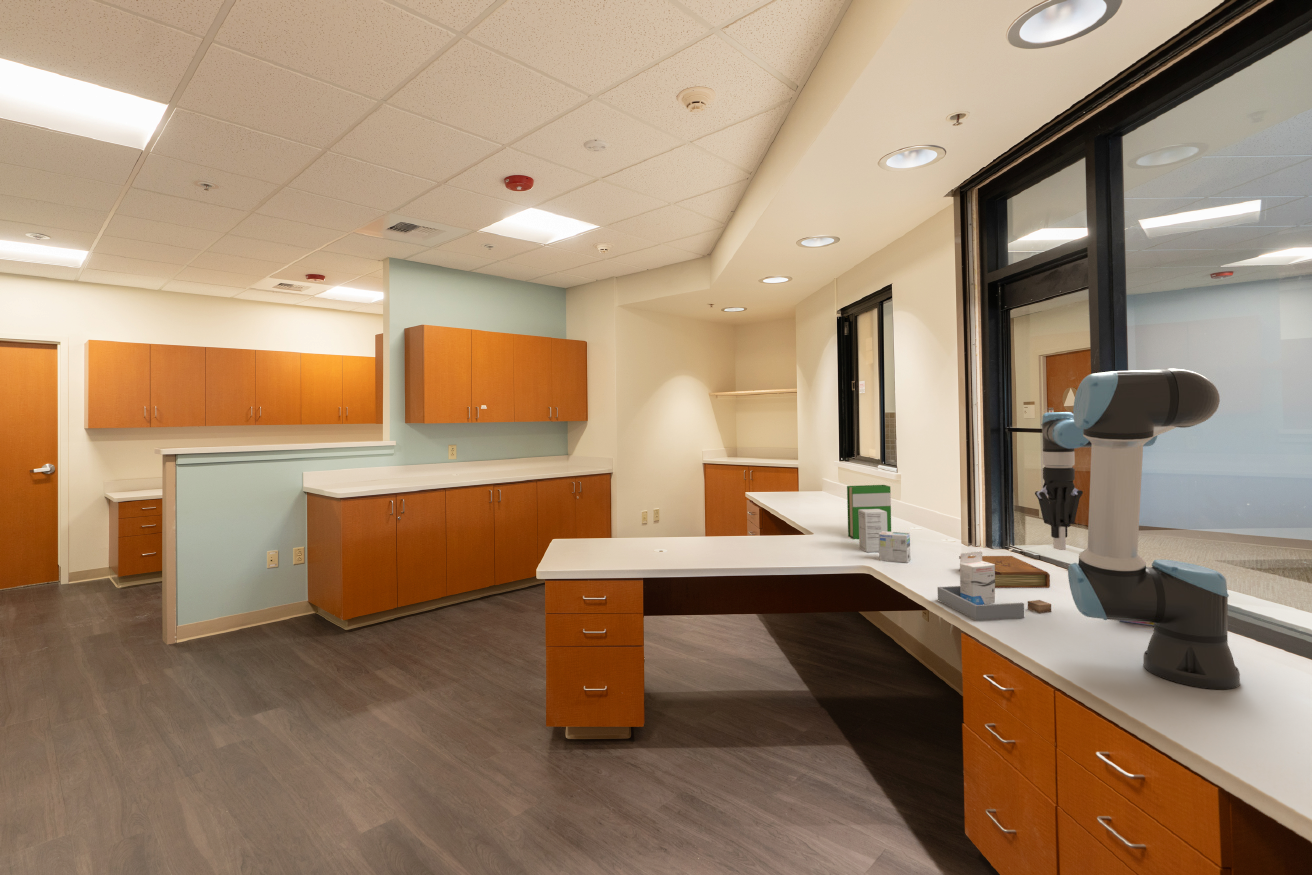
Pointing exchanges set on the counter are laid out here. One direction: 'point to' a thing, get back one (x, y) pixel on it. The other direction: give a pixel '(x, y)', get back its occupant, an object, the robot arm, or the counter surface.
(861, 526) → the supplement box
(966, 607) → the tray
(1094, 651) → the counter surface
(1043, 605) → the walnut block
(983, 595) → the ink box
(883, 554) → the light bulb box
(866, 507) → the hardback book
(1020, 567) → the diary
